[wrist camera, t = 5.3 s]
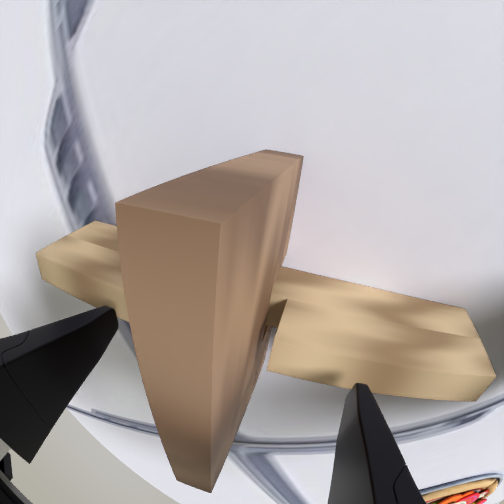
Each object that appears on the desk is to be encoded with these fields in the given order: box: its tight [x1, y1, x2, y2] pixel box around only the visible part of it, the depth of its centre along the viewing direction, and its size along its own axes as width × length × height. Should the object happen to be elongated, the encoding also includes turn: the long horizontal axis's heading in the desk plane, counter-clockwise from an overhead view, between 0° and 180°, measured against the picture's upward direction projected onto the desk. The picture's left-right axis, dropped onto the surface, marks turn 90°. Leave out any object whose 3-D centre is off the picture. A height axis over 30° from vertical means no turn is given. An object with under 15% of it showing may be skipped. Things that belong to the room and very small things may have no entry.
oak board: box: [36, 221, 496, 401], centre depth 12 cm, size 22×2×5 cm, turn 83°
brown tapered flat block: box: [115, 150, 303, 493], centre depth 10 cm, size 12×2×9 cm, turn 173°
